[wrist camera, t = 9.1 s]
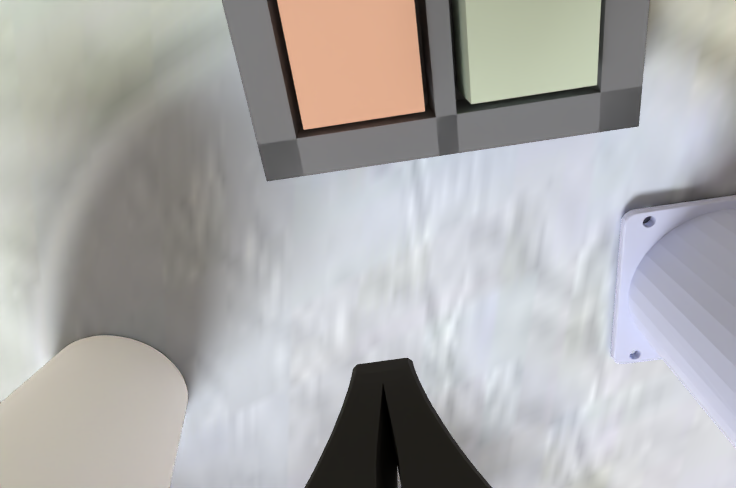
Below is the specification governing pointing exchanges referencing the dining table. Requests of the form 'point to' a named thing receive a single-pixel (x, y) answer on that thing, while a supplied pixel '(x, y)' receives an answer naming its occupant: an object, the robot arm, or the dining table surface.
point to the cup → (95, 419)
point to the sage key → (524, 46)
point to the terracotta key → (353, 59)
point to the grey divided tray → (430, 96)
